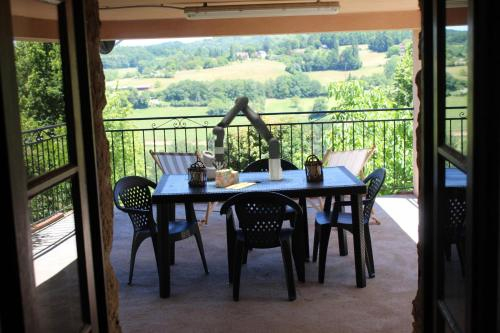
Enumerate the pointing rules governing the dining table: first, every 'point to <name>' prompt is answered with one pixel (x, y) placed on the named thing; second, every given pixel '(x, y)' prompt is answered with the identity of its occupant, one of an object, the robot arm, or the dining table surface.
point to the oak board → (240, 185)
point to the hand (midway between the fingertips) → (220, 174)
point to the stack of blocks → (226, 178)
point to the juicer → (209, 165)
